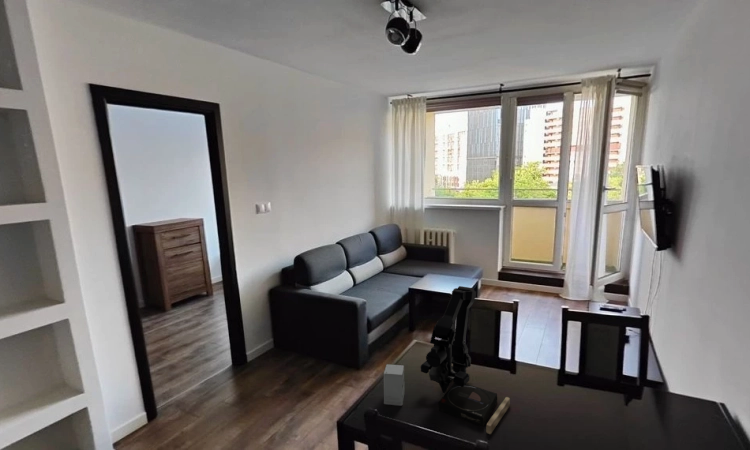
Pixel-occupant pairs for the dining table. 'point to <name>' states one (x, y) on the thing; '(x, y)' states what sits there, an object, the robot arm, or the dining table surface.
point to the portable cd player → (468, 403)
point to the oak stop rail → (498, 415)
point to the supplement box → (394, 385)
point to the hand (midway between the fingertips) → (444, 392)
